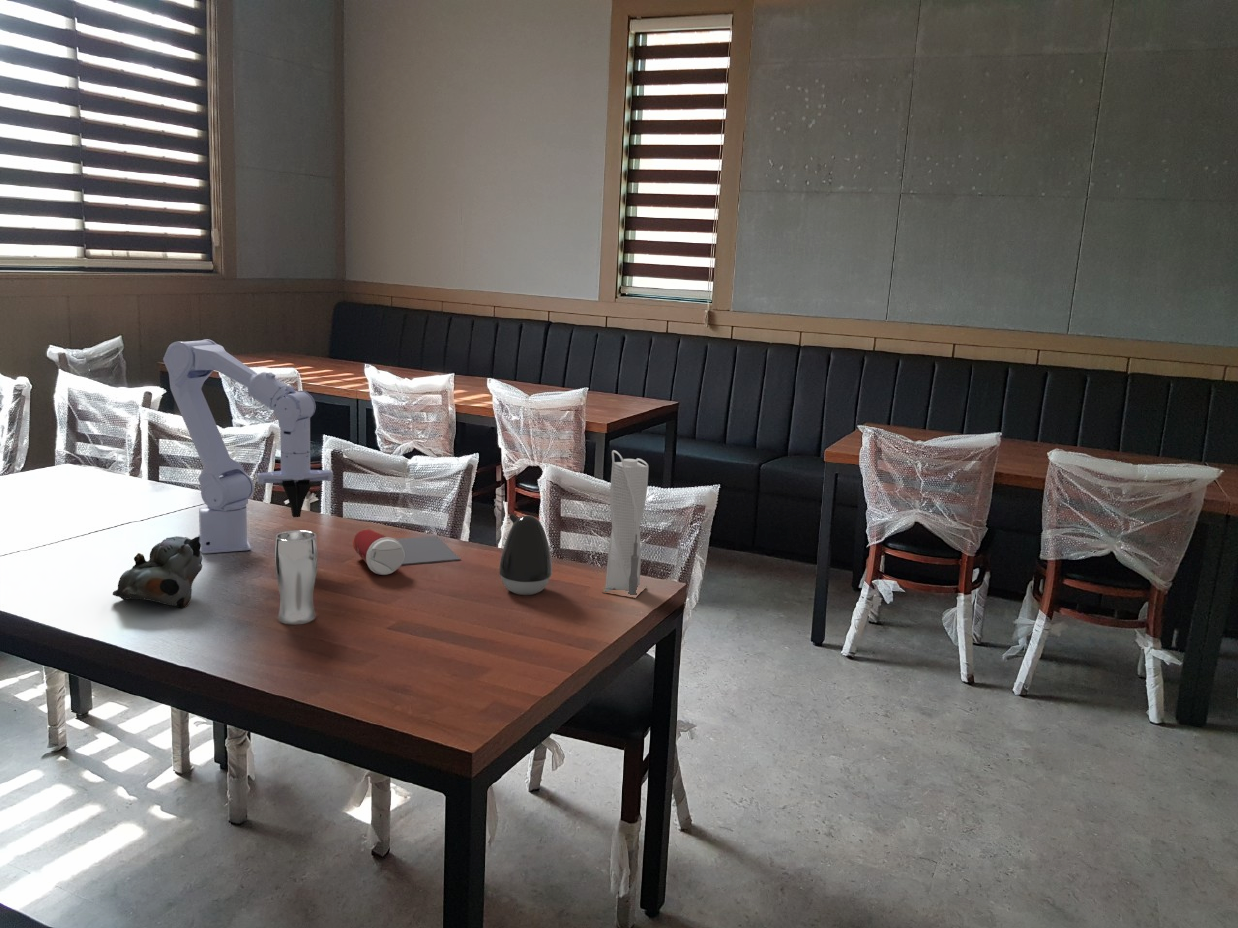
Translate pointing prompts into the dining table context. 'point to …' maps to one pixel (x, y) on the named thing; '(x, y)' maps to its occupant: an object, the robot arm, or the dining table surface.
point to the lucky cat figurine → (164, 573)
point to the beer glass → (296, 575)
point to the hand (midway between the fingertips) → (296, 516)
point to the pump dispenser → (525, 557)
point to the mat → (426, 550)
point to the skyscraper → (626, 523)
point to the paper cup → (379, 551)
